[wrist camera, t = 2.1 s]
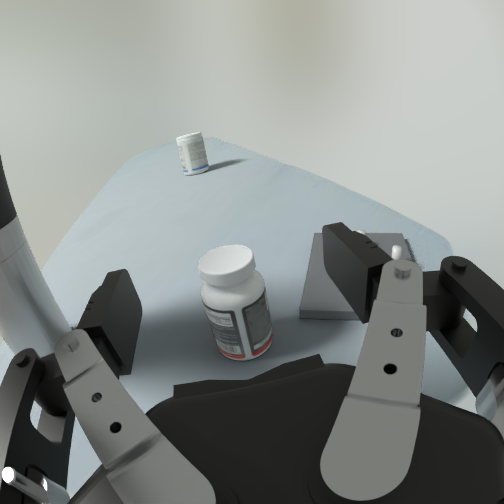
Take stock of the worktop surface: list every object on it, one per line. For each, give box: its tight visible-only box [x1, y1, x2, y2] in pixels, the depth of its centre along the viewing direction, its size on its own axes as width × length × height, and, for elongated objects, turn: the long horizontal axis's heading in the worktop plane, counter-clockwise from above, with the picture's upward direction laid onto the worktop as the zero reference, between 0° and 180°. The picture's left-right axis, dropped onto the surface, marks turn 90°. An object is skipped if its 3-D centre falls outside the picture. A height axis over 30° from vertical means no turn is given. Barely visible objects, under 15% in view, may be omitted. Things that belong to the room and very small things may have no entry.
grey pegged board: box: [300, 230, 413, 320], centre depth 35 cm, size 14×18×4 cm
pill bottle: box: [198, 245, 273, 360], centre depth 26 cm, size 6×6×10 cm
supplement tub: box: [177, 132, 209, 175], centre depth 102 cm, size 10×10×15 cm
